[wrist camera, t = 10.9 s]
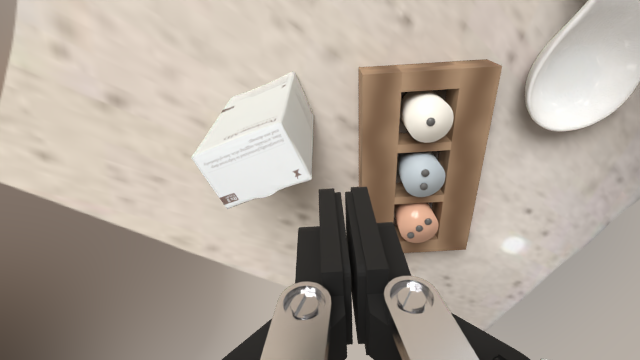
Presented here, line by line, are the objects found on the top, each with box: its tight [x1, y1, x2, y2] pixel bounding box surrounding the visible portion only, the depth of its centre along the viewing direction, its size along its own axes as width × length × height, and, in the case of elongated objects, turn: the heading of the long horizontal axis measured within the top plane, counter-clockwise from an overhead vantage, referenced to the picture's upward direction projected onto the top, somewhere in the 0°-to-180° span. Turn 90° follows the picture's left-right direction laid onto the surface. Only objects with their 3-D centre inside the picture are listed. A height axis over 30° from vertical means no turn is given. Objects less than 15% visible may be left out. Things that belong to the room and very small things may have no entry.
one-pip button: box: [400, 90, 454, 143], centre depth 38 cm, size 5×5×5 cm
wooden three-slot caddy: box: [359, 59, 502, 253], centre depth 42 cm, size 14×24×4 cm, turn 3°
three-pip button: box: [394, 202, 439, 243], centre depth 45 cm, size 5×5×5 cm
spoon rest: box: [525, 0, 640, 132], centre depth 33 cm, size 24×12×7 cm, turn 13°
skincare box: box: [192, 71, 314, 209], centre depth 34 cm, size 8×6×15 cm
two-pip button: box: [397, 151, 445, 197], centre depth 41 cm, size 5×5×5 cm
